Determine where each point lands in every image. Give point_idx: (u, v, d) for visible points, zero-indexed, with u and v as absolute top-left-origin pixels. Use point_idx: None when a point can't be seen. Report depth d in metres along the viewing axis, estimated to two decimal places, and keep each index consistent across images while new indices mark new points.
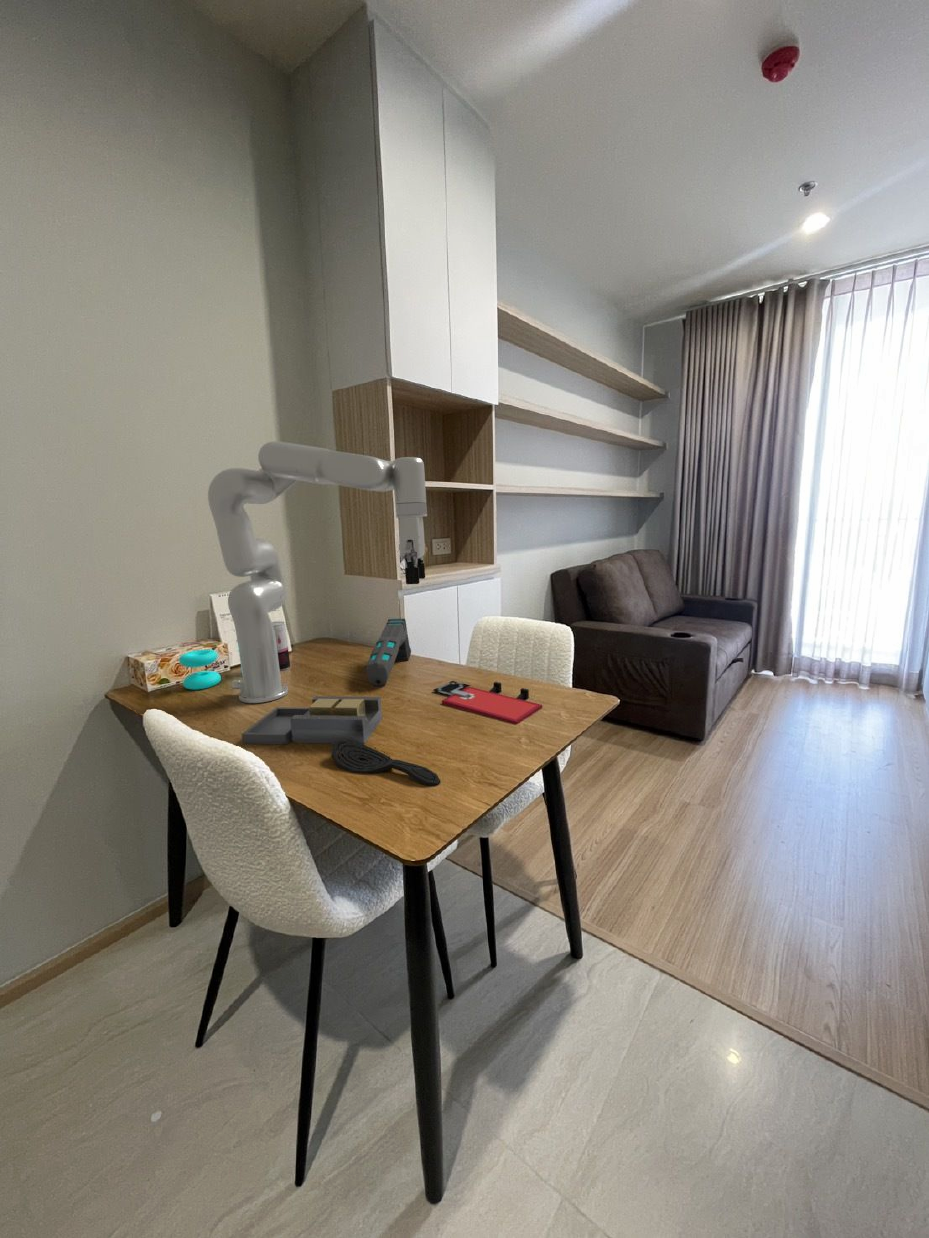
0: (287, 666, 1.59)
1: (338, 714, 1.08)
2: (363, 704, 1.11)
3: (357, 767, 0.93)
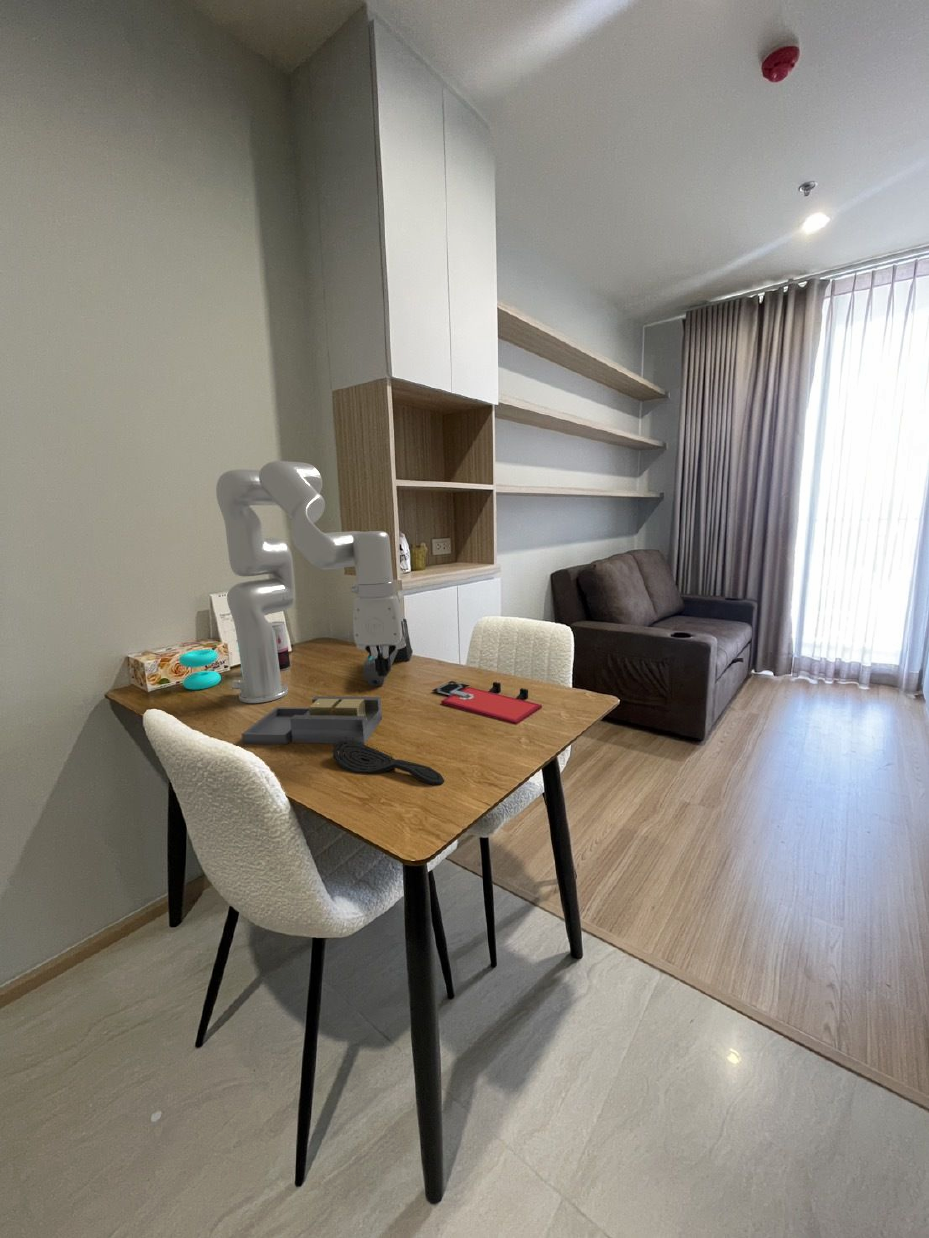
0: (287, 666, 1.59)
1: (338, 714, 1.08)
2: (363, 704, 1.11)
3: (359, 768, 0.93)
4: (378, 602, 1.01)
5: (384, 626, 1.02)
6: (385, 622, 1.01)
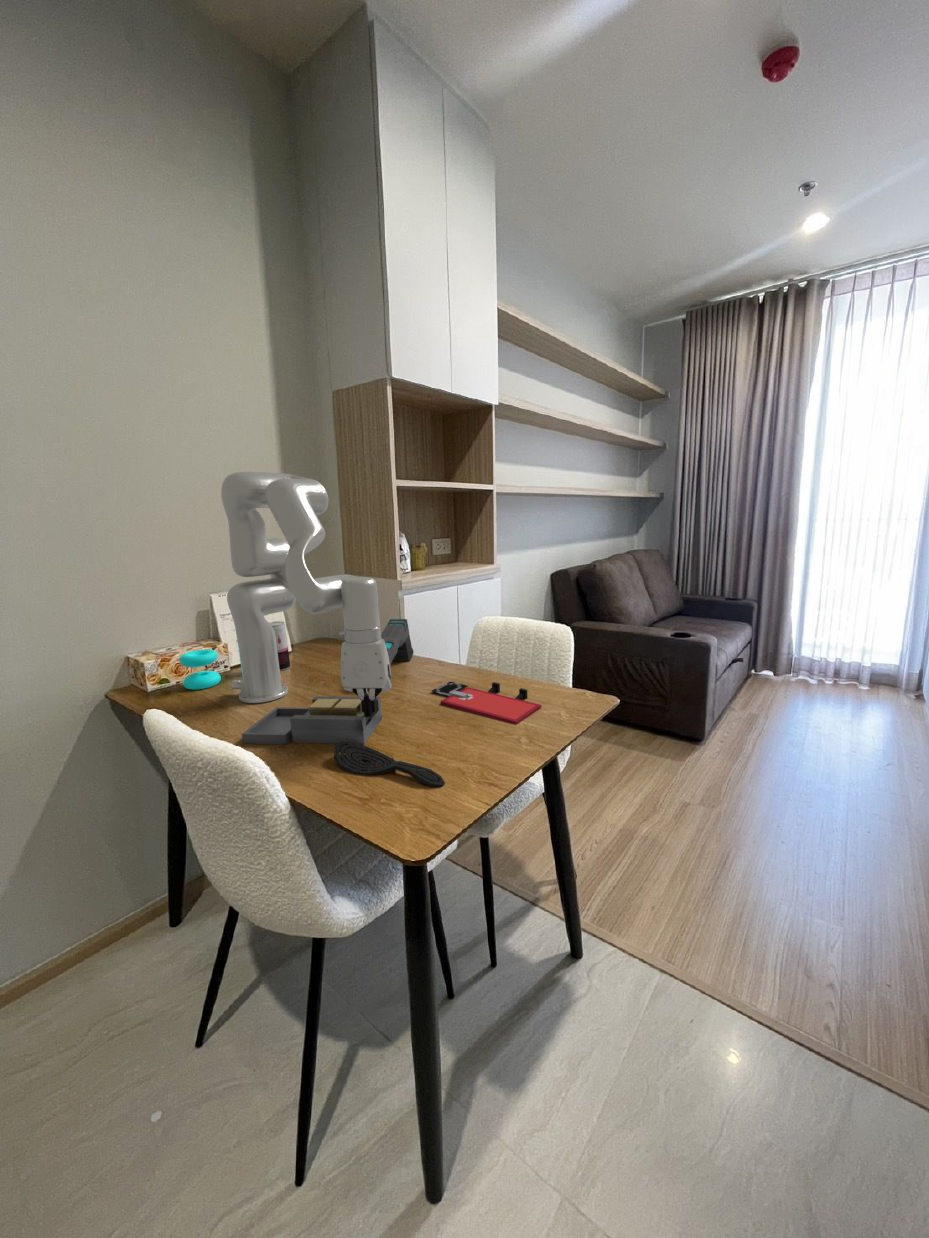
0: (287, 666, 1.59)
1: (337, 714, 1.08)
2: None
3: (360, 769, 0.93)
4: (364, 647, 1.03)
5: (370, 670, 1.04)
6: (371, 666, 1.04)
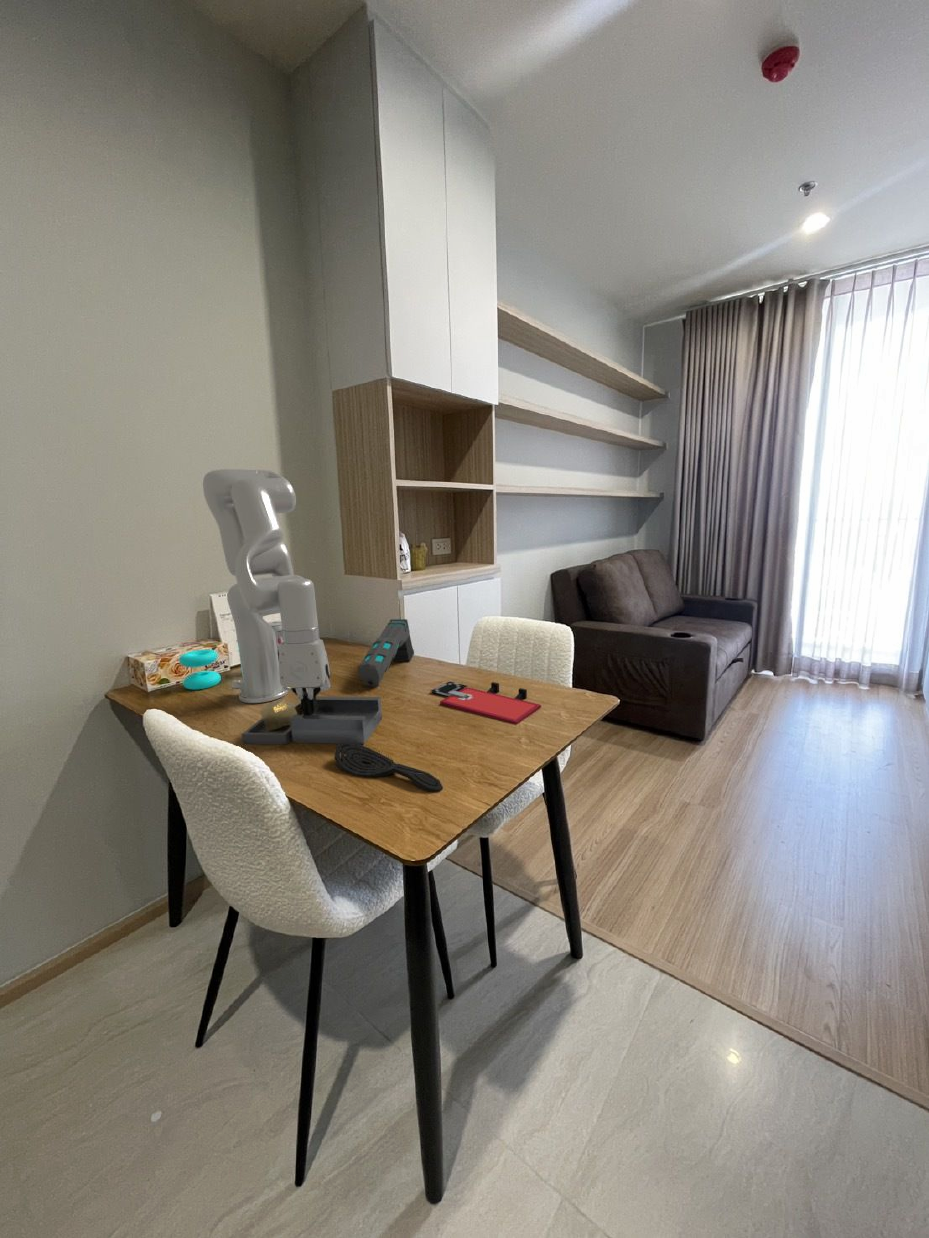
0: None
1: (280, 718, 1.10)
2: None
3: (359, 771, 0.92)
4: (301, 647, 1.05)
5: (307, 670, 1.06)
6: (308, 666, 1.06)
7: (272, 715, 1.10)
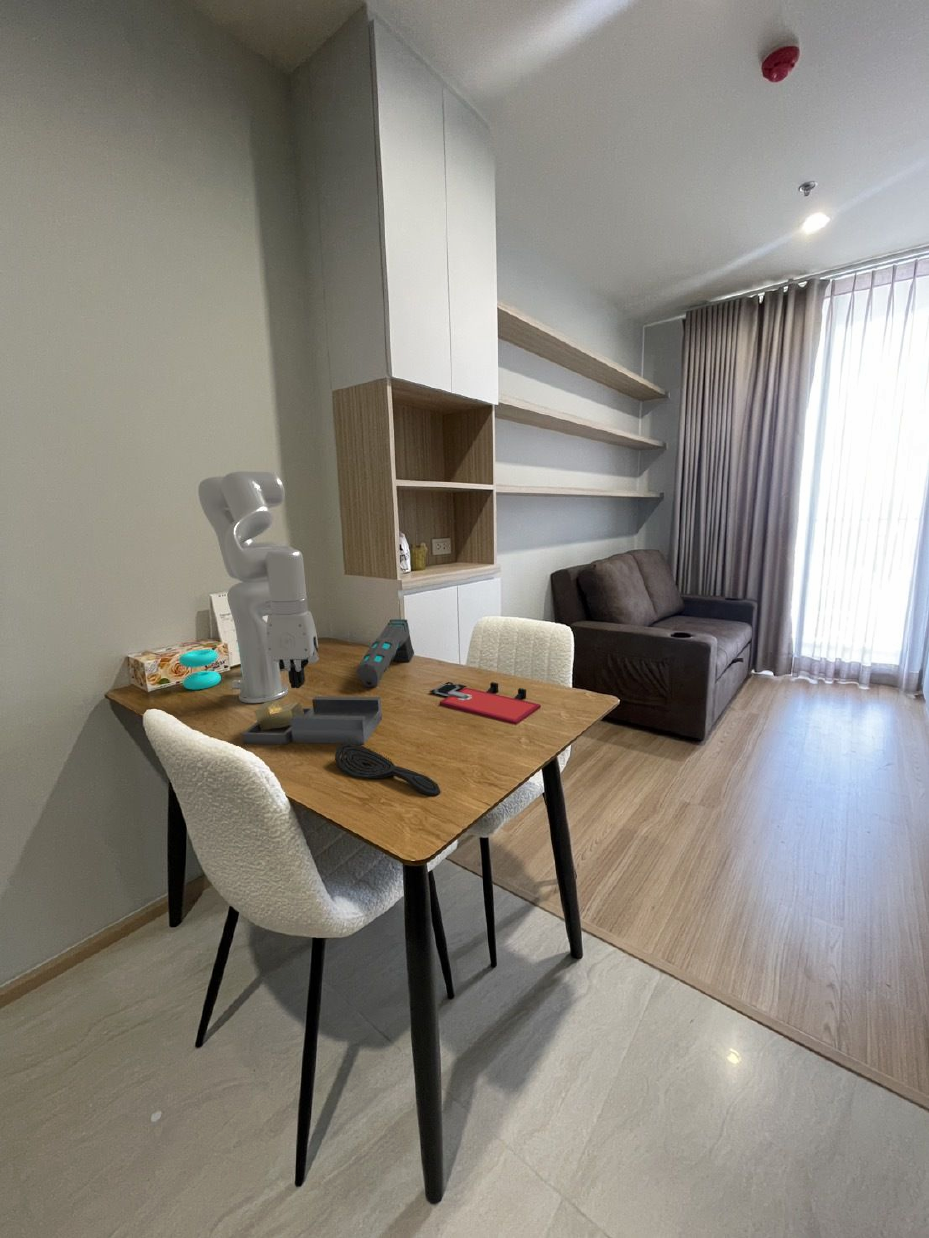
0: None
1: (275, 720, 1.10)
2: (300, 706, 1.14)
3: (359, 772, 0.91)
4: (289, 619, 1.04)
5: (295, 641, 1.05)
6: (296, 638, 1.05)
7: (266, 715, 1.10)
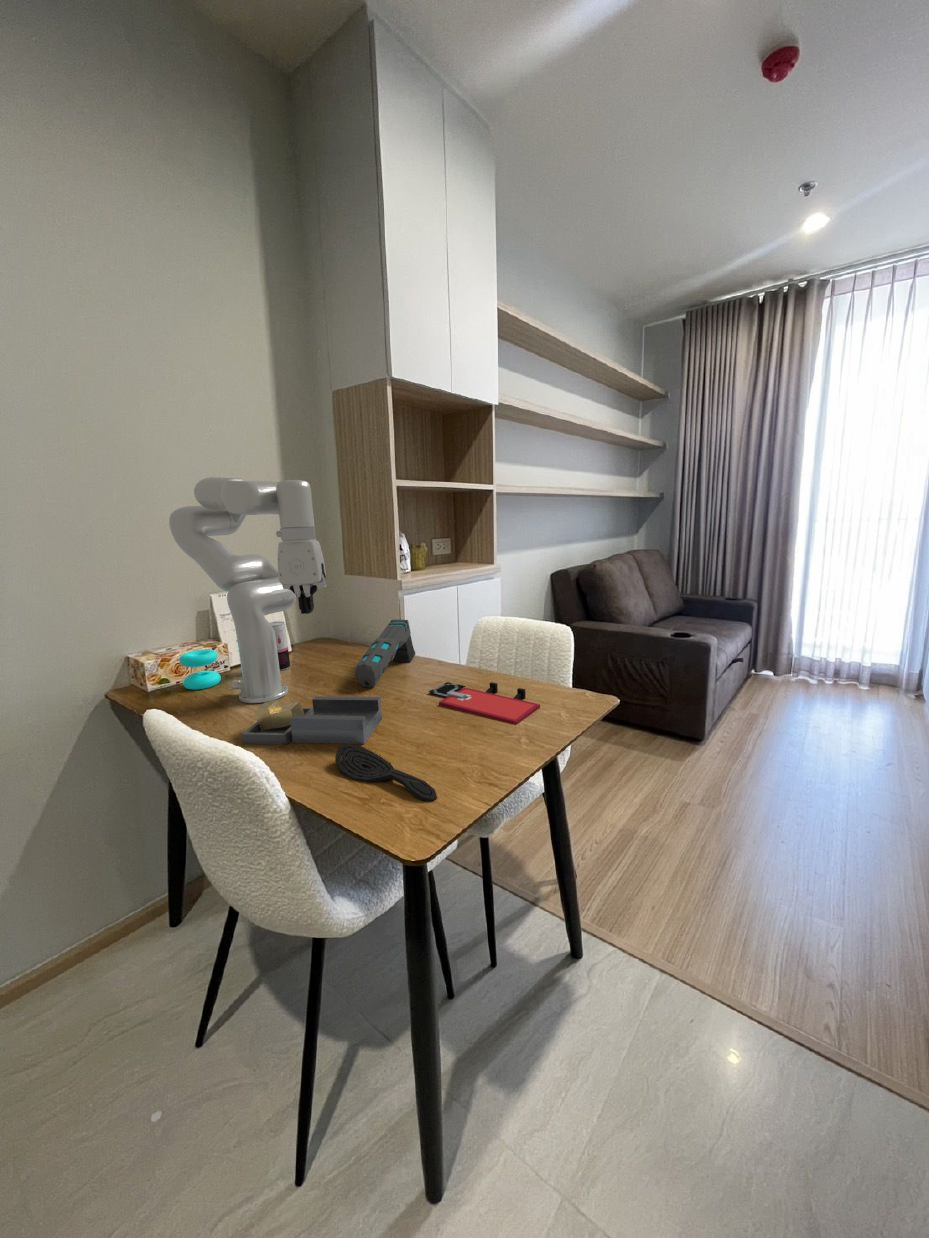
0: (287, 666, 1.59)
1: (275, 720, 1.10)
2: (300, 706, 1.14)
3: (357, 775, 0.91)
4: (298, 545, 1.12)
5: (304, 566, 1.13)
6: (305, 563, 1.12)
7: (266, 715, 1.10)
